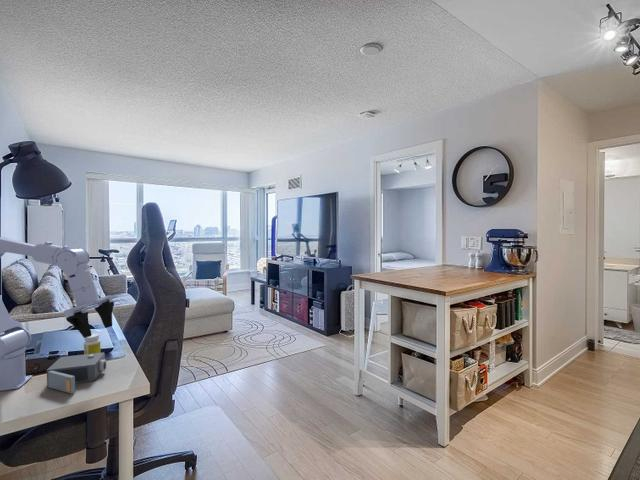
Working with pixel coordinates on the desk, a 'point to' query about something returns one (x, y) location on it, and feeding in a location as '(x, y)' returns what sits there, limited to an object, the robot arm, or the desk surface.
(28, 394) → the desk surface
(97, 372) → the camera body
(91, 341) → the supplement bottle
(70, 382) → the side door
